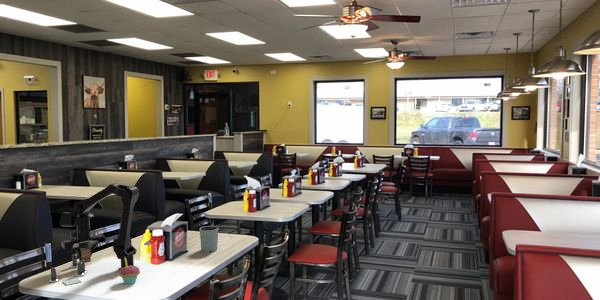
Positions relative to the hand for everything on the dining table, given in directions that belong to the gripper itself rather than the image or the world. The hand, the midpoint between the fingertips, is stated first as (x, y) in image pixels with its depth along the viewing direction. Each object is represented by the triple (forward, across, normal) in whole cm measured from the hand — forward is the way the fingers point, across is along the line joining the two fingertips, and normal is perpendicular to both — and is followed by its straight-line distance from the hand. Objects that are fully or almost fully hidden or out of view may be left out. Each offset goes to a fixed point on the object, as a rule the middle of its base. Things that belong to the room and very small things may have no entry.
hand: (84, 259), depth 223 cm
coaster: (+4, +10, +16) cm, 20 cm away
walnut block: (+1, 0, 0) cm, 1 cm away
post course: (+5, +9, +2) cm, 11 cm away
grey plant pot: (+5, -59, +15) cm, 61 cm away
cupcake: (+5, -8, +34) cm, 35 cm away
